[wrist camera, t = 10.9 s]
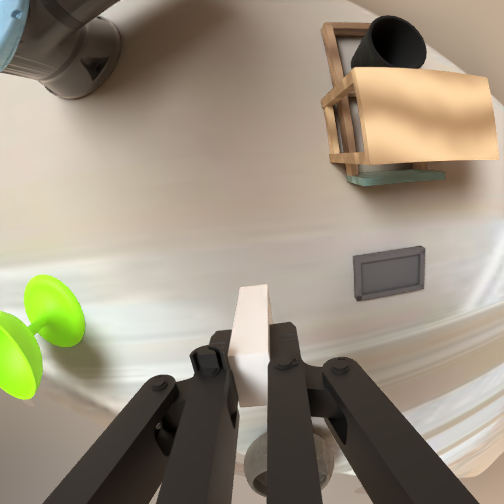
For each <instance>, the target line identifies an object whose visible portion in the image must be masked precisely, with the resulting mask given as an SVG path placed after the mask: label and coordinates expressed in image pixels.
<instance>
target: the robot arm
mask: <svg viewBox="0 0 504 504" xmlns="http://www.w3.org/2000/svg"><path fill="white" fill-rule="evenodd" d="M118 1H120V0H0V73H6V74H11V75H16V76H21V77H26V78H30V79H34V80H38V81H39V82H40V83H41V84H42V85H44V86H45V88H46V89H47V90H48V91H49V92H50V93H52V94H54V95H55V96H58V97H62V98H67V99H75V98H80V97H83V96H85V95H87V94H89V93H91V92H93V91H94V90H95V89H97V88H98V87H99V86H100V85H101V84H102V83H103V82H104V81H105V80H106V79H107V78H108V76H109V75H110V73H111V72H112V70H113V69H114V67H115V65H116V63H117V60H118V57H119V54H120V48H121V40H120V35H119V32H118V30H117V28H116V27H115V26H114V25H113V24H112V23H111V22H110V21H109V20H107V19H106V18H104V17H102V16H99V14H101V13H102V12H104V11H105V10H107V9H108V8H109V7H111V6H112V5H114V4H115V3H117V2H118ZM189 356H190V359H191V362H192V366H193V369H194V372H195V373H194V376H193V377H192V378H190V379H187V380H183V381H179V382H176V381H175V379H174V378H173V377H172V376H170V375H157V376H154V377H152V378H150V379H149V380H148V381H147V382H146V383H145V384H144V385H143V386H142V387H141V388H140V390H139V391H138V392H137V393H136V394H135V396H134V397H133V398H132V399H131V400H130V401H129V403H128V404H127V405H126V406H125V407H124V408H123V410H122V411H121V412H120V413H119V414H118V416H117V417H116V418H115V419H114V420H113V421H112V423H111V424H110V425H109V426H108V427H107V429H106V430H105V431H104V432H103V433H102V435H101V436H100V437H99V438H98V439H97V440H96V442H95V443H94V444H93V445H92V446H91V448H90V449H89V450H88V451H87V452H86V453H85V454H84V456H83V457H82V458H81V459H80V460H79V461H78V463H77V464H76V465H75V466H74V467H73V469H72V470H71V471H70V472H69V473H68V474H67V476H66V477H65V478H64V479H63V480H62V482H61V483H60V484H59V485H58V486H57V488H56V489H55V490H54V491H53V492H52V493H51V494H50V496H49V497H48V498H47V499H46V500H45V501H44V503H43V504H149V502H150V501H151V499H152V497H153V496H154V494H155V492H156V491H157V489H158V487H159V486H160V484H161V483H162V484H161V488H160V491H159V495H158V498H157V502H156V504H231V500H232V489H233V479H234V469H235V458H236V448H237V438H238V427H239V417H240V416H239V411H238V408H237V406H238V401H239V405H240V407H253V406H265V405H268V410H267V504H323V503H322V495H321V487H320V479H319V471H318V463H317V456H316V449H315V442H314V434H313V427H312V421H311V416H312V417H323V418H324V420H325V422H326V424H327V426H328V428H329V429H330V431H331V433H332V434H333V436H334V438H335V440H336V441H337V443H338V445H339V446H340V448H341V450H342V452H343V453H344V455H345V457H346V458H347V460H348V462H349V464H350V465H351V467H352V469H353V470H354V472H355V474H356V475H357V477H358V479H359V480H360V482H361V484H362V485H363V487H364V489H365V490H366V492H367V494H368V495H369V497H370V499H371V500H372V502H373V504H479V503H478V502H477V500H476V499H475V498H474V497H473V496H472V494H471V493H470V492H469V491H468V490H467V489H466V488H465V486H464V485H463V484H462V483H461V482H460V480H459V479H458V478H457V477H456V476H455V475H454V473H453V472H452V471H451V470H450V469H449V468H448V467H447V465H446V464H445V463H444V462H443V461H442V460H441V458H440V457H439V456H438V455H437V454H436V453H435V452H434V450H433V449H432V448H431V447H430V446H429V445H428V443H427V442H426V441H425V440H424V439H423V438H422V437H421V435H420V434H419V433H418V432H417V431H416V430H415V428H414V427H413V426H412V425H411V424H410V423H409V422H408V420H407V419H406V418H405V417H404V416H403V415H402V414H401V412H400V411H399V410H398V409H397V408H396V407H395V406H394V404H393V403H392V402H391V401H390V400H389V399H388V398H387V396H386V395H385V394H384V393H383V392H382V391H381V390H380V388H379V387H378V386H377V385H376V384H375V383H374V382H373V380H372V379H371V378H370V377H369V376H368V375H367V374H366V372H365V371H364V370H363V369H362V368H361V367H360V366H359V364H358V363H357V362H356V361H354V360H353V359H351V358H347V357H337V358H333V359H330V360H328V361H327V362H326V363H325V364H324V365H323V367H315V366H311V365H308V364H306V363H304V362H303V360H302V359H301V355H300V349H299V343H298V337H297V331H296V326H294V325H293V324H292V323H291V322H286V323H278V324H273V321H272V314H271V307H270V300H269V293H268V286H267V284H262V285H254V286H246V287H240V291H239V296H238V302H237V307H236V312H235V318H234V323H233V329H232V330H222V331H216V333H215V334H214V335H213V336H212V337H211V339H210V343H209V345H206V346H202V347H199V348H197V349H195V350H194V351H192V352H191V354H190V355H189ZM158 423H159V424H158ZM156 426H157V427H156Z"/></svg>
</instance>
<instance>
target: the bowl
mask: <svg viewBox="0 0 504 504" xmlns="http://www.w3.org/2000/svg"><path fill="white" fill-rule="evenodd" d="M313 434H314V433H313ZM314 442H315V449H316V456H317V463H318V471H319V479H320V487H321V490H322V489H323V488H324V487H325V486H326V485H327V484H328V482H329V480H330V478H331V475H332V472H333V468H334V457H333V453H332V450H331V448H330V446H329V444H328V443H327V442H326V441H325V440H324V439H323V438H321V437H320V436H318V435H316V434H314ZM244 471H245V475H246V478H247V481H248V483H249V485H250V486H251V488H252V489H253V490H254V491H255V492H256V493H258V494H260V495H261V496H264V497H267V434H264V435H263V436H261V437H259V438H258V439H256V440H255V441H254V442H253V443H252V444H251V446H250V447H249V448H248V450H247V452H246V455H245V459H244Z"/></svg>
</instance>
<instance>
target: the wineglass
mask: <svg viewBox="0 0 504 504" xmlns="http://www.w3.org/2000/svg"><path fill="white" fill-rule="evenodd" d="M24 305H25V310H26V313H27V316H28V318H29V321H30V322H31V325H30V326H29V327H27V326H26V325H25V324H24V323H23V322H22V321H21V320H20V319H18V318H17V317H15V316H14V315H11V314H8V313H5V312H2V311H0V388H1V389H3V390H4V391H6V392H7V393H8V394H10V395H12V396H14V397H16V398H19V399H24V400H25V399H30V398H31V397H32V396H33V395H34V394H35V392H36V391H37V389H38V387H39V385H40V381H41V377H42V372H43V366H42V355H41V351H40V347H39V345H38V343H37V341H36V339H35V337H34V335H35V334H36V333H37V332H38V333H39V335H40V336H42V337H43V338H44V339H45V340H46V341H48V342H50V343H51V344H53V345H56V346H59V347H72V346H74V345H77V344H78V343H79V342H80V341H81V340H82V338H83V335H84V332H85V320H84V314H83V312H82V309H81V306H80V304H79V302H78V301H77V299H76V297H75V295H74V294H73V293H72V292H71V291H70V289H69V288H68V287H67V286H66V285H64V284H63V283H62V282H61V281H60V280H58V279H56V278H54V277H52V276H48V275H37V276H35V277H34V278H32V279H31V280H30V281H29V283H28V284H27V286H26V289H25V293H24Z"/></svg>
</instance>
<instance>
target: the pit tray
mask: <svg viewBox="0 0 504 504" xmlns="http://www.w3.org/2000/svg"><path fill="white" fill-rule="evenodd" d="M353 265H354V289H355V298H356V300H357V301H361V300H367V299H372V298H378V297H383V296H389V295H394V294H400V293H405V292H410V291H415V290H420V289H424V270H425V248H424V247H422V246H416V247H410V248H403V249H397V250H390V251H383V252H377V253H370V254H363V255H356V256H353Z"/></svg>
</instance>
